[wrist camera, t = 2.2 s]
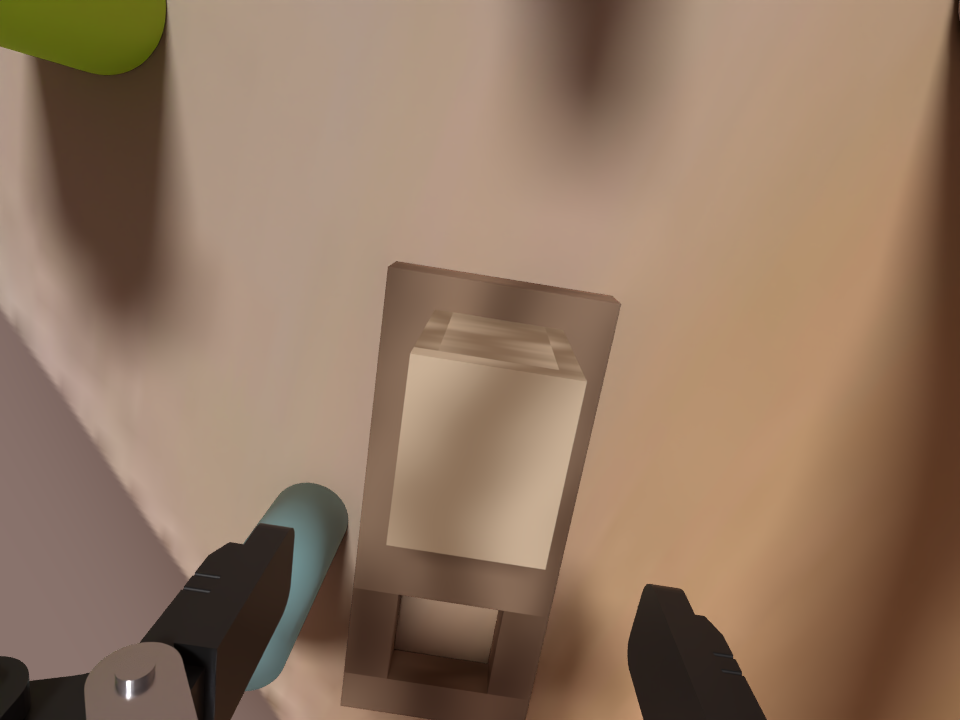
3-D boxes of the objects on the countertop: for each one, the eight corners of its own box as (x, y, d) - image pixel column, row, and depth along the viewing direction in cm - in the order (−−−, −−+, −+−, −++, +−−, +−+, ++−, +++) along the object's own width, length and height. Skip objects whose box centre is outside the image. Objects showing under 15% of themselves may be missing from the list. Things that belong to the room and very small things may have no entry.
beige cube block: (563, 329, 24) (586, 381, 18) (533, 473, 26) (545, 569, 20) (434, 309, 24) (410, 353, 18) (415, 455, 26) (386, 545, 20)
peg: (351, 489, 29) (289, 613, 21) (344, 554, 30) (283, 698, 22) (274, 477, 29) (180, 596, 21) (270, 543, 30) (179, 682, 22)
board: (612, 295, 26) (643, 325, 20) (520, 701, 33) (525, 809, 27) (396, 261, 26) (366, 280, 20) (349, 675, 33) (317, 778, 27)
